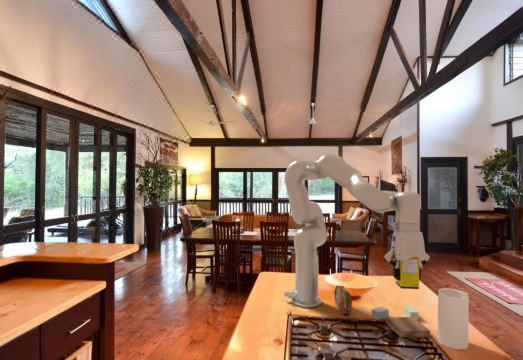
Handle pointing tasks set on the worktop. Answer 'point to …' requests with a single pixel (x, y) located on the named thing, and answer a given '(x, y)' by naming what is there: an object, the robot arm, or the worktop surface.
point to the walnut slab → (407, 327)
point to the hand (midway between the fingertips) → (406, 278)
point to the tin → (343, 299)
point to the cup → (453, 318)
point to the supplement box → (409, 274)
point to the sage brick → (410, 312)
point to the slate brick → (380, 313)
